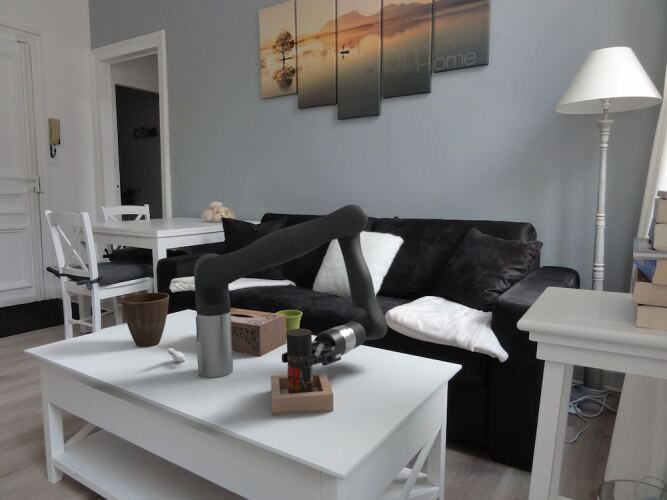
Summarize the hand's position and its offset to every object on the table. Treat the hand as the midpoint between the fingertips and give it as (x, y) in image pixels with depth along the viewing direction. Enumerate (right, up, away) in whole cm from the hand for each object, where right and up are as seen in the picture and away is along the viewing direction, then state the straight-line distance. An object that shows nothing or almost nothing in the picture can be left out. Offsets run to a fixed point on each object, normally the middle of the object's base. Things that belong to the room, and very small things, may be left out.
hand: (293, 361), depth 115 cm
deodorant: (+2, -8, +3) cm, 9 cm away
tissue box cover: (-21, -6, +47) cm, 52 cm away
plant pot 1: (-53, -6, +49) cm, 72 cm away
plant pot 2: (-6, -4, +53) cm, 54 cm away
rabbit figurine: (-37, -8, +29) cm, 47 cm away
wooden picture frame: (+2, -10, +3) cm, 11 cm away
